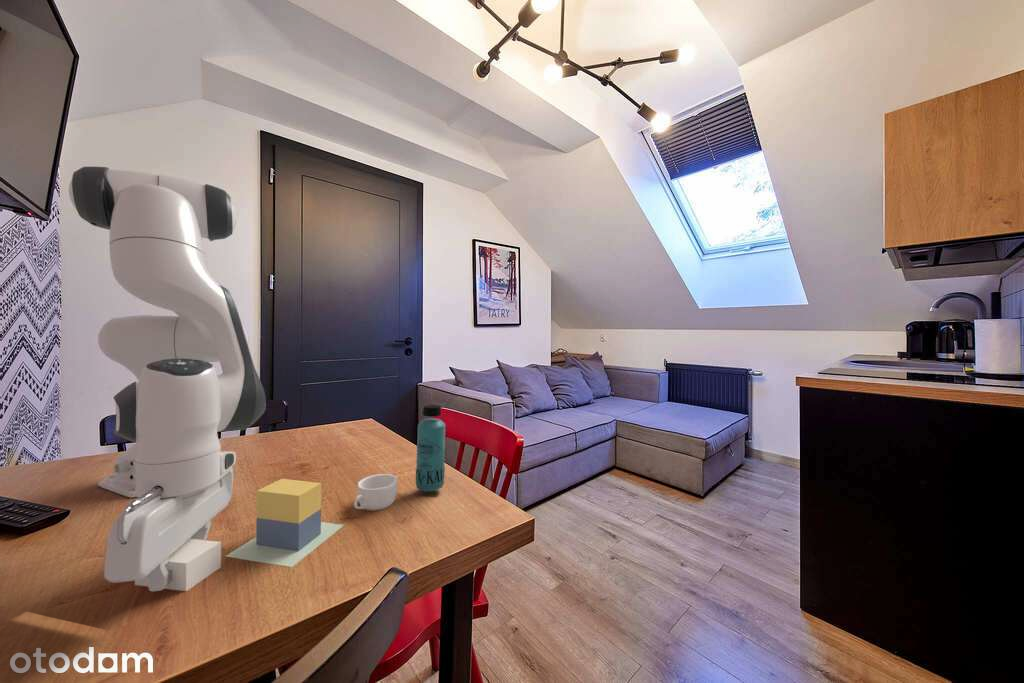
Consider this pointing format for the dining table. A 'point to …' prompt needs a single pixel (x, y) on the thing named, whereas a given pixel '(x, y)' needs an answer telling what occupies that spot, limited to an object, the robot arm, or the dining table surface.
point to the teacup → (376, 492)
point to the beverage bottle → (430, 451)
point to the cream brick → (191, 564)
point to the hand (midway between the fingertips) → (179, 569)
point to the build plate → (282, 555)
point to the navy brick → (288, 532)
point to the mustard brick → (289, 500)
